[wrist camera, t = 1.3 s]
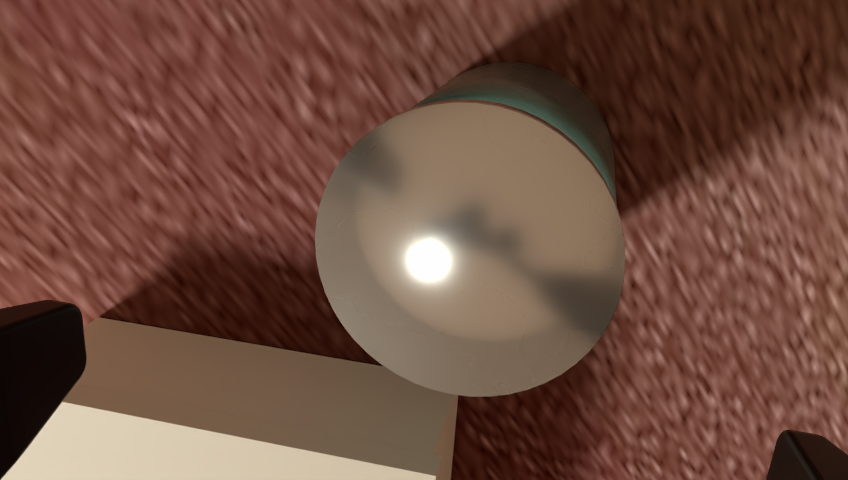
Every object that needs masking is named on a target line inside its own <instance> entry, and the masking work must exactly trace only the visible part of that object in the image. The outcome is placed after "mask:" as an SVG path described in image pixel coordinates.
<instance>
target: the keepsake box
mask: <svg viewBox="0 0 848 480" xmlns="http://www.w3.org/2000/svg"><path fill="white" fill-rule="evenodd" d="M83 329H84V337H85V346H86V355H87V361H86V367H85V370H84V372H83V374H82V376H81V378H80V379H79V380H78V382H77V383H76V384H75V386H74V387H73V388H72V390H71V391H70V392H69V394H68V395H67V396H66V398H65V399H64V400H63V402H62V403H61V404H60V406H59V407H58V408H57V410H56V411H55V412H54V413H53V415H52V416H51V417H50V419H49V420H48V421H47V423H46V424H45V425H44V427H43V428H42V429H41V431H40V432H39V433H38V435H37V436H36V437H35V439H34V440H33V441H32V443H31V444H30V445H29V447H28V448H27V449H26V450H25V452H24V453H23V454H22V455H21V457H20V458H19V459H18V460H17V462H16V463H15V464H14V465H13V466H12V468H11V469H10V470H9V471H8V472H7V473H6V474H5V476H4V477H3V478H2V479H1V480H451V471H452V460H453V449H454V438H455V426H456V415H457V404H458V395H453V394H448V393H444V392H440V391H435V390H432V389H429V388H426V387H423V386H421V385H418V384H415V383H413V382H411V381H409V380H407V379H405V378H403V377H401V376H399V375H397V374H395V373H394V372H392V371H391V370H389V369H388V368H386V367H384V366H378V365H373V364H367V363H361V362H355V361H349V360H344V359H338V358H332V357H326V356H320V355H315V354H309V353H303V352H297V351H291V350H286V349H280V348H274V347H268V346H262V345H257V344H251V343H245V342H239V341H233V340H228V339H222V338H216V337H210V336H204V335H199V334H193V333H187V332H181V331H175V330H170V329H164V328H158V327H152V326H146V325H141V324H135V323H129V322H123V321H117V320H112V319H106V318H100V317H98V318H97V319H95V320H94V321H92V322H91V323H89V324H88V325H86V326H85V327H83Z"/></svg>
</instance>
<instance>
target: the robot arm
mask: <svg viewBox="0 0 848 480" xmlns="http://www.w3.org/2000/svg"><path fill="white" fill-rule="evenodd" d="M86 361H87V355H86V346H85V337H84V329H83V320H82V314H81V312H80V310H79V308H78V307H77V306H76V305H74V304H71V303H66V302H60V301H55V300H43V301H38V302H33V303H28V304H23V305H18V306H13V307H7V308H2V309H0V480H1V479H2V478H3V477H4V476H5V474H6V473H7V472H8V471H9V470H10V469H11V468H12V466H13V465H14V464H15V463H16V462H17V460H18V459H19V458H20V457H21V455H22V454H23V453H24V452H25V450H26V449H27V448H28V447H29V445H30V444H31V443H32V441H33V440H34V439H35V437H36V436H37V435H38V433H39V432H40V431H41V429H42V428H43V427H44V425H45V424H46V423H47V421H48V420H49V419H50V417H51V416H52V415H53V413H54V412H55V411H56V410H57V408H58V407H59V406H60V404H61V403H62V402H63V400H64V399H65V398H66V396H67V395H68V394H69V392H70V391H71V390H72V388H73V387H74V386H75V384H76V383H77V382H78V380H79V379H80V378H81V376H82V374H83V372H84V370H85V367H86ZM766 480H848V455H847V454H846V453H845V452H843V451H842V450H841V449H839V448H838V447H837V446H835V445H834V444H833V443H831V442H830V441H829V440H827V439H826V438H825V437H823V436H820V435H817V434H812V433H806V432H800V431H794V430H785V431H783V432H782V433H781V434H780V435H779V437H778V439H777V442H776V446H775V449H774V453H773V457H772V460H771V464H770V468H769V471H768V475H767V479H766Z"/></svg>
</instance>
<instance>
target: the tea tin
mask: <svg viewBox="0 0 848 480" xmlns="http://www.w3.org/2000/svg"><path fill="white" fill-rule="evenodd" d="M315 247H316V259H317V265H318V270H319V275H320V278H321V282H322V285H323V288H324V291H325V294H326V296H327V298H328V300H329V302H330V304H331V306H332V309H333V311H334V312H335V314H336V315H337V317H338V319H339V320H340V322H341V323H342V325H343V326H344V328H345V329H346V330H347V331H348V333H349V334H350V335H351V337H352V338H353V339H354V340H355V341H356V342H357V343H358V344H359V345H360V346H361V347H362V348H363V349H364V350H365V351H366V352H367V353H368V354H369V355H370V356H371V357H373V358H374V359H375V360H376V361H378V362H379V363H380V364H381V365H383V366H384V367H386V368H388V369H389V370H391V371H392V372H394V373H395V374H397V375H399V376H401V377H403V378H405V379H407V380H409V381H411V382H413V383H415V384H418V385H421V386H423V387H426V388H429V389H432V390H435V391H440V392H444V393H448V394H453V395H461V396H470V397H491V396H499V395H508V394H512V393H517V392H521V391H525V390H528V389H531V388H534V387H536V386H539V385H542V384H544V383H546V382H548V381H550V380H552V379H554V378H556V377H557V376H559V375H561V374H562V373H564V372H565V371H567V370H568V369H569V368H571V367H572V366H574V365H575V364H576V363H577V362H579V361H580V360H581V359H582V358H583V357H584V356H585V355H586V354H587V353H588V352H589V351H590V350H591V349H592V348H593V346H594V345H595V344H596V343H597V341H598V340H599V339H600V338H601V336H602V335H603V333H604V331H605V330H606V328H607V326H608V325H609V323H610V321H611V319H612V317H613V315H614V312H615V310H616V307H617V305H618V302H619V299H620V295H621V291H622V286H623V282H624V272H625V246H624V234H623V228H622V223H621V218H620V214H619V211H618V208H617V203H616V183H615V163H614V150H613V145H612V140H611V136H610V133H609V130H608V127H607V125H606V123H605V121H604V119H603V117H602V115H601V113H600V111H599V110H598V109H597V107H596V106H595V104H594V103H593V101H592V100H591V99H590V98H589V97H588V96H587V95H586V94H585V93H584V91H582V90H581V89H580V88H579V87H578V86H576V85H575V84H574V83H573V82H572V81H570V80H568V79H567V78H565V77H564V76H562V75H560V74H558V73H556V72H554V71H552V70H549V69H547V68H544V67H541V66H537V65H534V64H529V63H522V62H498V63H490V64H486V65H482V66H478V67H475V68H473V69H470V70H468V71H465V72H463V73H461V74H460V75H458V76H456V77H454V78H453V79H451V80H450V81H449V82H447V83H446V84H444V85H443V86H442V87H440V88H439V89H438V90H436V91H435V92H433V93H432V94H431V95H429V96H428V97H427V98H425V99H424V100H422V101H421V102H420V103H418V104H417V105H416V106H414V107H413V108H411V109H409V110H407V111H404V112H402V113H399V114H397V115H396V116H394V117H392V118H390V119H388V120H387V121H385V122H383V123H381V124H380V125H379V126H377V127H376V128H374V129H373V130H372V131H371V132H369V133H368V134H367V135H365V136H364V137H363V138H361V139H360V140H359V141H358V142H357V143H356V144H355V145H354V146H353V147H352V148H351V149H350V150H349V151H348V152H347V154H346V155H345V156H344V158H343V159H342V160H341V162H340V163H339V164H338V166H337V167H336V169H335V170H334V172H333V174H332V176H331V178H330V180H329V182H328V183H327V185H326V188H325V191H324V194H323V196H322V199H321V202H320V206H319V211H318V216H317V220H316V233H315Z"/></svg>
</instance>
